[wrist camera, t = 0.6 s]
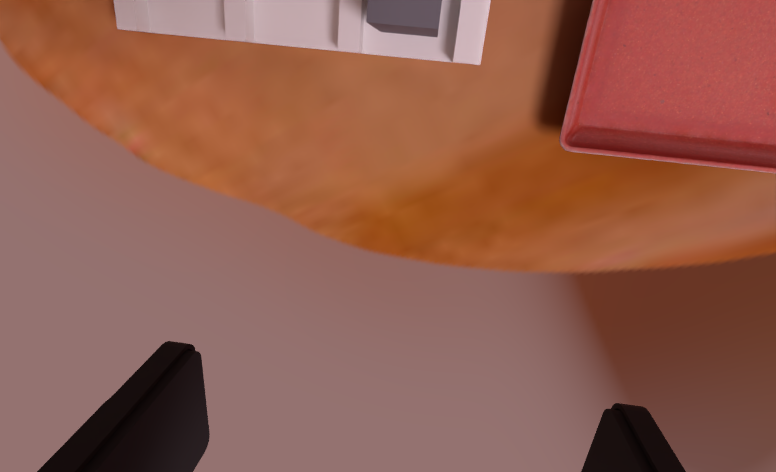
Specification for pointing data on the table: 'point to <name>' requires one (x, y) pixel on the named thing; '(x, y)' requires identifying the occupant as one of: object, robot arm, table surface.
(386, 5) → the block
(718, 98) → the plant saucer
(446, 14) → the white ribbed panel
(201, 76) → the table surface
